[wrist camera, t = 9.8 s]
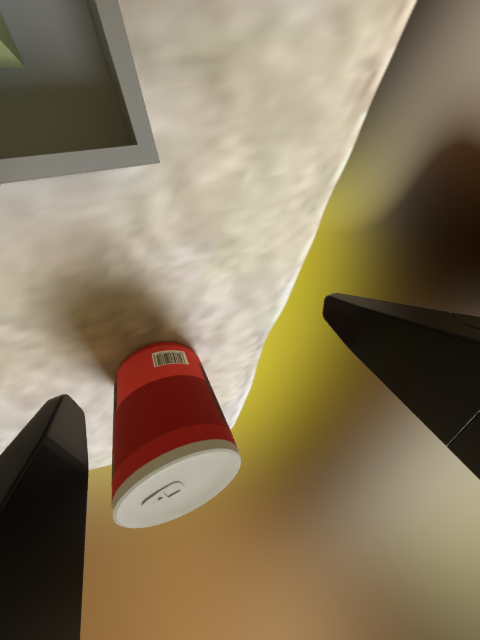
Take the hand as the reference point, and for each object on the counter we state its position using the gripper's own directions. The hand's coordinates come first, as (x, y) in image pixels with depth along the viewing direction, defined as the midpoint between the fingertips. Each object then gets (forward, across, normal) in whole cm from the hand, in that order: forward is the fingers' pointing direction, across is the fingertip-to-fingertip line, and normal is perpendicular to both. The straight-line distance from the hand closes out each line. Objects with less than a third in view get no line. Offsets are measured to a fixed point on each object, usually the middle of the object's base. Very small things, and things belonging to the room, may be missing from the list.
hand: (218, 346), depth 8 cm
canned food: (+12, +4, +11) cm, 17 cm away
